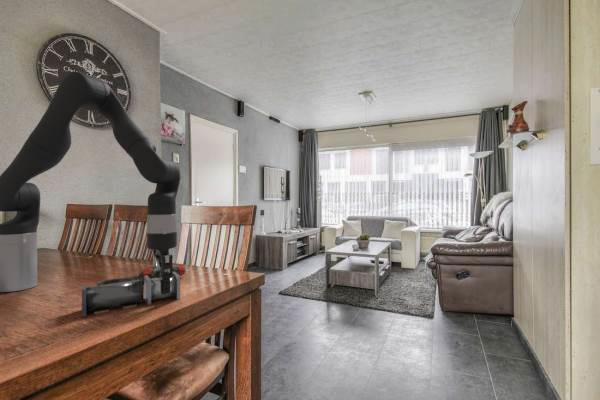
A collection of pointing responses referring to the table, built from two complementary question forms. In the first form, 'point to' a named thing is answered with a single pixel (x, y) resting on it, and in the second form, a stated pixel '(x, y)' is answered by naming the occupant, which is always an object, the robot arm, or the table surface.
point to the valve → (141, 276)
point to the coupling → (154, 288)
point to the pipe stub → (111, 296)
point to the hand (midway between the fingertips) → (162, 289)
